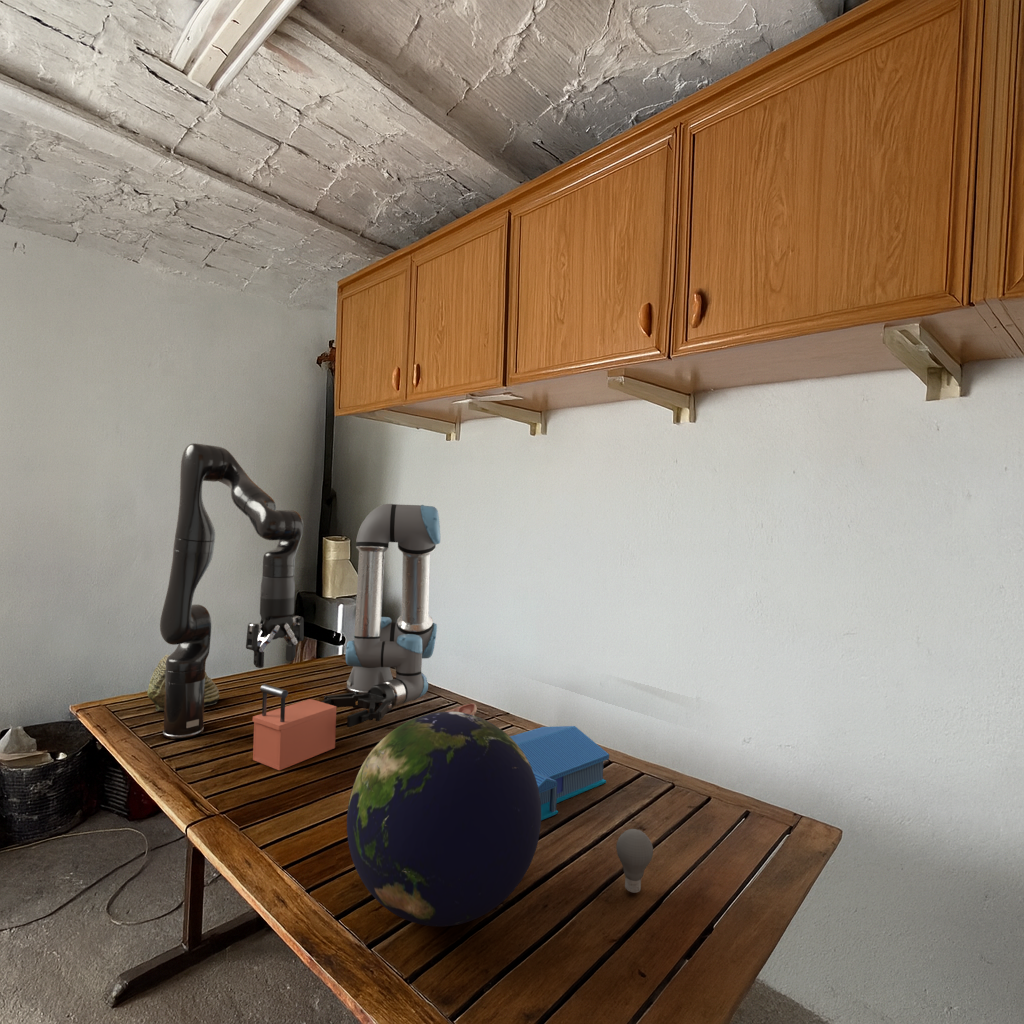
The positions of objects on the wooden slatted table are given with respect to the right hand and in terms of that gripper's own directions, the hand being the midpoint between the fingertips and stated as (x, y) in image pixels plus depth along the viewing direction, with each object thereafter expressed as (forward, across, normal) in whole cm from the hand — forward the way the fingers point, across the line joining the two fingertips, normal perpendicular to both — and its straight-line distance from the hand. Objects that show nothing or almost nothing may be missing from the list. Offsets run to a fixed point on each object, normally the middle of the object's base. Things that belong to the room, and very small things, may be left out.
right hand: (328, 716), depth 162 cm
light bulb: (+14, -87, -7) cm, 88 cm away
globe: (+35, -64, -7) cm, 73 cm away
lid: (+10, +1, +2) cm, 10 cm away
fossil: (+6, +54, -7) cm, 54 cm away
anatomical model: (-33, -15, -7) cm, 37 cm away
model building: (-6, -53, -7) cm, 54 cm away
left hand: (+16, +1, +16) cm, 23 cm away
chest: (+9, +1, -7) cm, 12 cm away
